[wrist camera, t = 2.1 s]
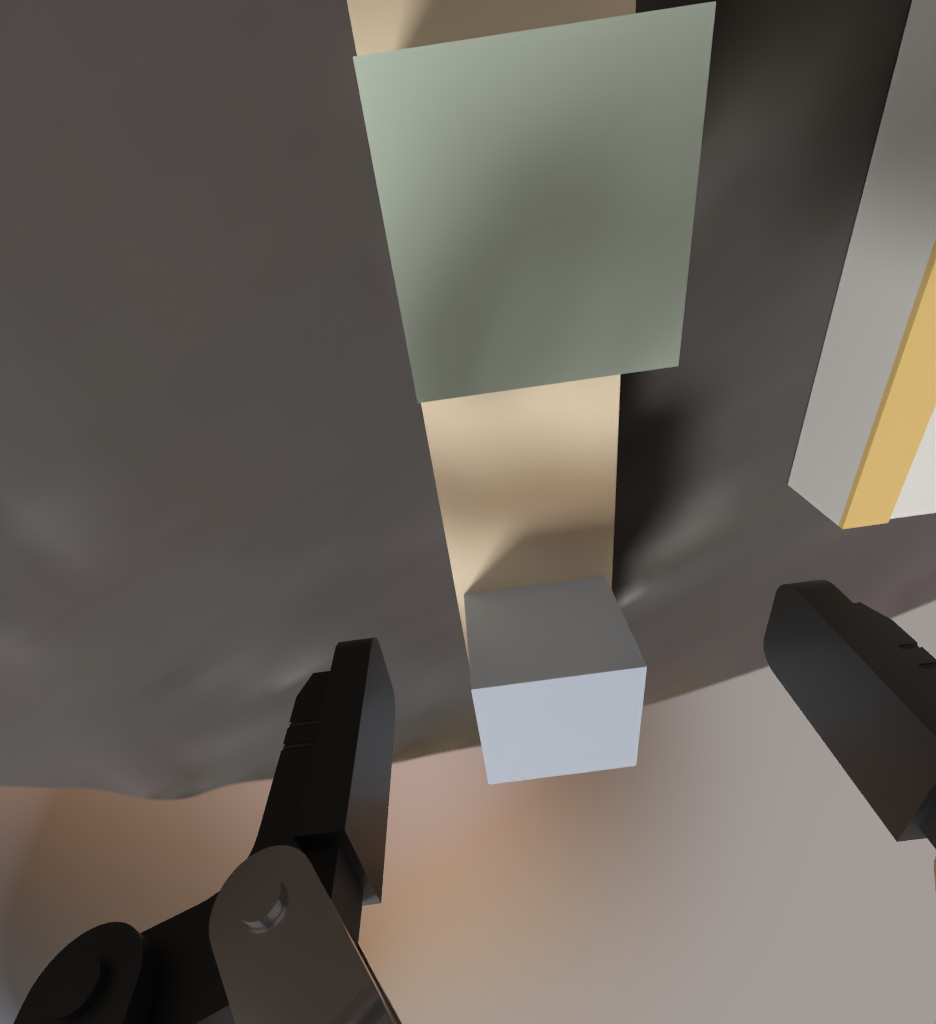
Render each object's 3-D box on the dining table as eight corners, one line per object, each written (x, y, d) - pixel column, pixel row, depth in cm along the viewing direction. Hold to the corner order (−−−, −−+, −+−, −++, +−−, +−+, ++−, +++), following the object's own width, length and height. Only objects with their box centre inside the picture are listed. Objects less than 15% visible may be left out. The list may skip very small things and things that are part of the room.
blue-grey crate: (463, 594, 18) (471, 689, 14) (605, 575, 17) (646, 666, 14) (479, 686, 20) (488, 784, 17) (601, 670, 20) (636, 765, 17)
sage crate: (378, 102, 10) (352, 56, 7) (621, 65, 10) (716, 1, 7) (421, 348, 13) (417, 403, 10) (613, 321, 13) (678, 366, 9)
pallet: (367, 42, 13) (344, -14, 9) (582, 9, 13) (638, -59, 9) (471, 642, 25) (478, 713, 21) (582, 627, 24) (607, 696, 21)
